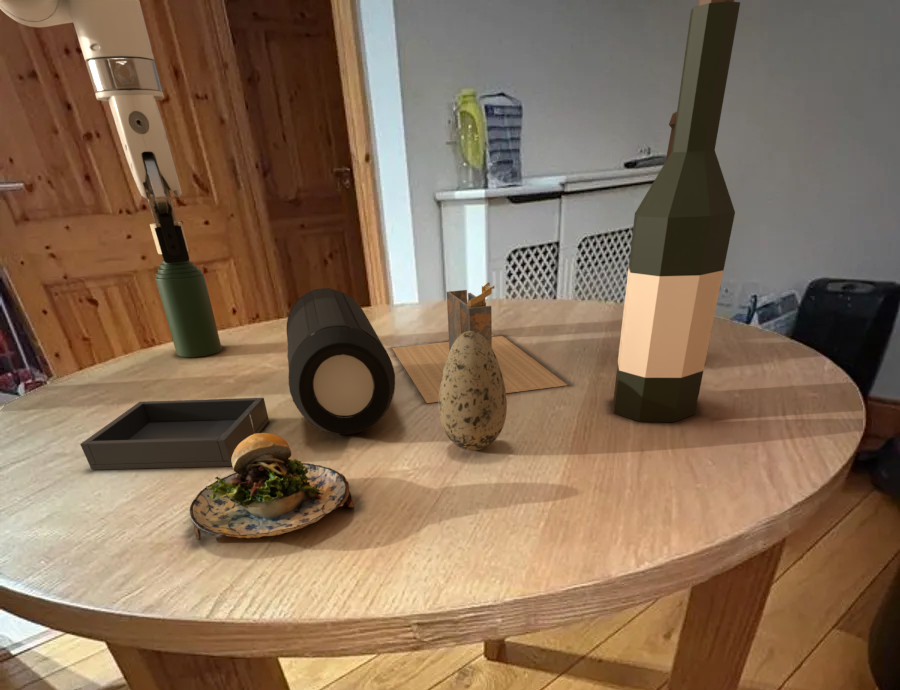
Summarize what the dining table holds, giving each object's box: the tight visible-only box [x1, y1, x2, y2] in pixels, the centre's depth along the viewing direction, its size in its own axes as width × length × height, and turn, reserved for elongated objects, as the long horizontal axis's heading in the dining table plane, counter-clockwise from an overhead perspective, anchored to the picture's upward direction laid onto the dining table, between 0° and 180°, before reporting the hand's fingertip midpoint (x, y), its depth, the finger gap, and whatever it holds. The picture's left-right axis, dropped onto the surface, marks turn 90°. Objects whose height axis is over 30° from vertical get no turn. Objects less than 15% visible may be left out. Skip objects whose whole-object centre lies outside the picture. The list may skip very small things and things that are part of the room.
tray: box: [79, 397, 270, 471], centre depth 58 cm, size 13×11×2 cm
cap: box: [149, 221, 190, 256], centre depth 80 cm, size 4×4×3 cm
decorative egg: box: [438, 331, 508, 451], centre depth 51 cm, size 6×6×10 cm
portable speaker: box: [285, 287, 396, 436], centre depth 63 cm, size 26×10×10 cm, turn 13°
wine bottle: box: [612, 0, 741, 423], centre depth 51 cm, size 8×8×30 cm
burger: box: [189, 410, 355, 541], centre depth 44 cm, size 12×12×8 cm
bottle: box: [154, 258, 223, 358], centre depth 83 cm, size 6×6×15 cm
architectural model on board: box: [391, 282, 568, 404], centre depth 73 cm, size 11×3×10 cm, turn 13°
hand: (176, 258), depth 81 cm, fingers closed on cap, 3 cm apart
